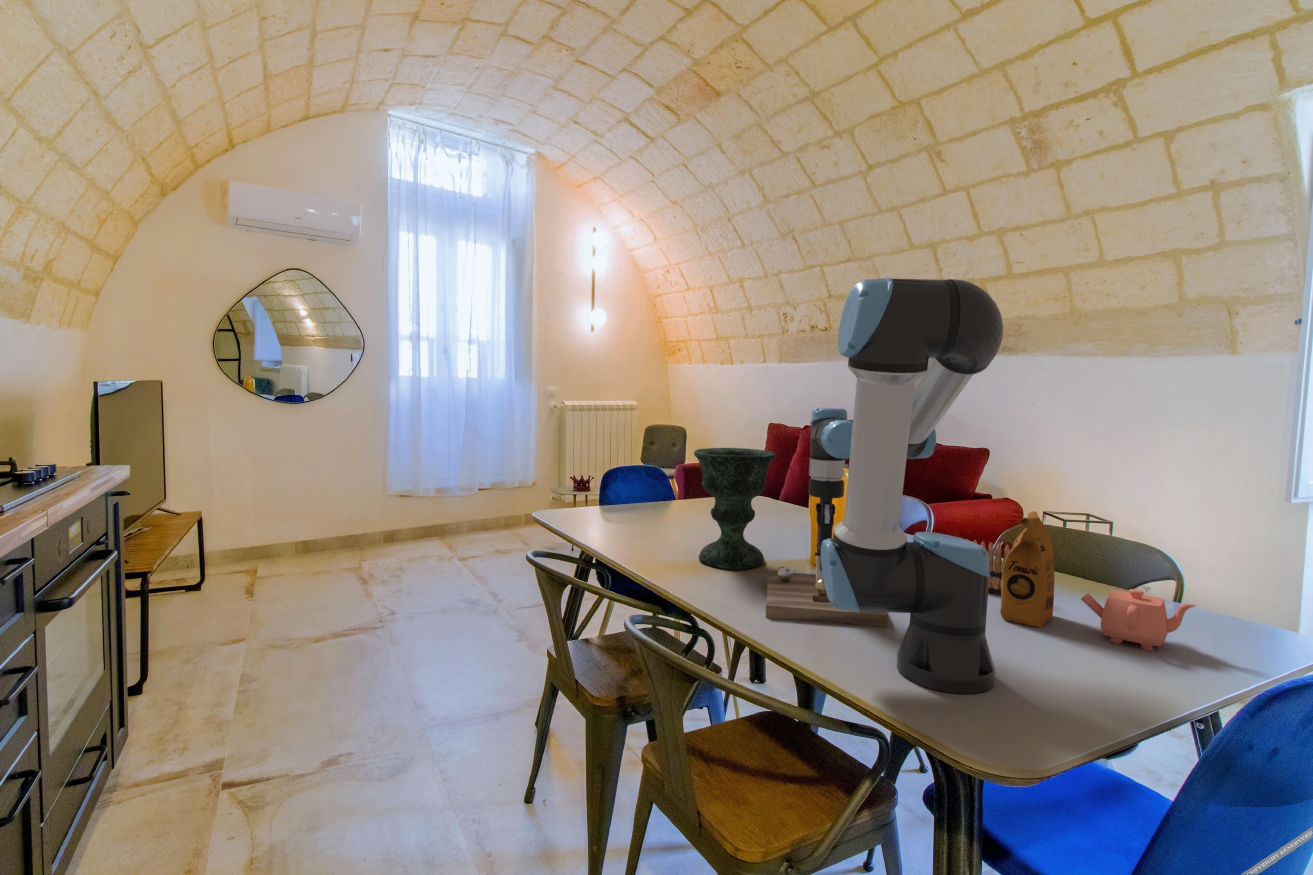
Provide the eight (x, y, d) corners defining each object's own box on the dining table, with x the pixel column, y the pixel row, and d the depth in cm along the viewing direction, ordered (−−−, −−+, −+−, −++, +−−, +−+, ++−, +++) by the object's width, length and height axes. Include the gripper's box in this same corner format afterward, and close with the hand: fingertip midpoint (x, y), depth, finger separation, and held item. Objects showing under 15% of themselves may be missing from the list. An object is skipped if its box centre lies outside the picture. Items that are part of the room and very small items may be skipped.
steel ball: (792, 583, 154) (793, 568, 154) (777, 582, 155) (777, 567, 154) (792, 578, 157) (792, 564, 157) (777, 577, 158) (777, 563, 158)
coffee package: (991, 618, 140) (997, 515, 139) (1007, 604, 150) (1013, 507, 148) (1044, 631, 134) (1052, 522, 132) (1058, 615, 143) (1065, 514, 141)
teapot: (1115, 652, 123) (1119, 599, 122) (1076, 629, 135) (1079, 580, 134) (1193, 655, 123) (1198, 601, 122) (1147, 631, 135) (1151, 582, 134)
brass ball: (831, 577, 145) (830, 581, 148) (815, 576, 145) (814, 580, 148) (831, 593, 143) (830, 597, 146) (815, 592, 144) (814, 596, 147)
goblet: (681, 567, 175) (684, 453, 172) (701, 547, 196) (704, 446, 194) (766, 576, 168) (770, 457, 166) (777, 554, 190) (780, 449, 187)
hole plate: (886, 626, 134) (887, 614, 134) (765, 617, 138) (766, 605, 138) (869, 588, 160) (869, 578, 159) (767, 581, 164) (768, 571, 164)
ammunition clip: (1009, 594, 157) (1012, 544, 156) (1007, 596, 156) (1011, 545, 155) (961, 585, 164) (964, 537, 163) (959, 587, 162) (961, 538, 161)
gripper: (847, 483, 139) (842, 594, 141) (841, 475, 152) (837, 576, 154) (810, 481, 141) (806, 591, 143) (807, 473, 153) (803, 574, 155)
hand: (822, 583), depth 148 cm, fingers closed
